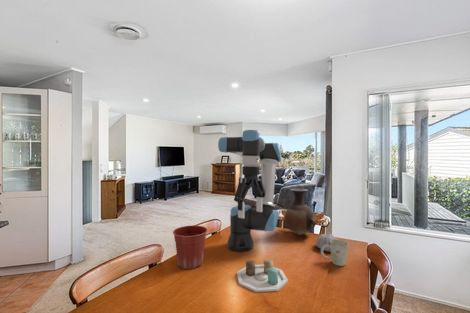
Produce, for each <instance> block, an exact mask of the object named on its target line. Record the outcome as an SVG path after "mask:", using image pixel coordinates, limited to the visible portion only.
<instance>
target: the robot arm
mask: <svg viewBox="0 0 470 313" xmlns="http://www.w3.org/2000/svg"><path fill="white" fill-rule="evenodd" d="M241 134H242V135H241V136H230V137H229V136H224V137H220V138H219V139H218V143H217V148H218V151H219V152H220V153H225V154H226V153H231V154H234V155H237V156H240V157H241V161H242V162H241V165H242V167H241V168H242V170H241V173H242V175H244V177H239V178H238V185H237V188H236V191H235V195H234V197H233V198H234V199H233V201H234V202H236V203H237V205H235V206H232V208H230V216H229V217H230V218H229V220H230V221H229V222H230V223H229V224H230V228H229V230H230V232H229V233H230V234H229V237H228V240H227V245H226V246H227V249H229V250H231V251H233V252H249V251H251V250H252V249H254V245H255V244H254V240H253V236H252V231H263V232H273V231H275V230H276V228H277V225H278V219H279V210H277V209H276V206H275V205H274V200H275V198H274V196H275V183H276V182H275V181H276V168H277V166H278V165H279V162H282V152H281V146H280V144H279V143H278V142H265V141H264V139H263V138H262V137H261V135H260V130H258V129H245V130H243V131H242V133H241ZM260 165H261V167H260ZM260 168H261V172H260ZM251 188H252V189H253V190H254V192H255V194H256V203H255V205H254V208H252V206H251V205H249V204H245V202H244V200H245V198H246V196H247V195H248V192H249V190H250V189H251Z"/></svg>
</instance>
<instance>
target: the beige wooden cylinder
mask: <svg viewBox="0 0 470 313" xmlns="http://www.w3.org/2000/svg"><path fill="white" fill-rule="evenodd" d="M263 264H264V273H265V274H267V275H268V269H269V268H273V267H274V260H272V259H267V258H266V259H264V260H263Z"/></svg>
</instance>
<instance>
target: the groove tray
mask: <svg viewBox="0 0 470 313" xmlns="http://www.w3.org/2000/svg"><path fill="white" fill-rule="evenodd" d="M273 268H276V269H277V270H278V284H277V285H270V284H269V283H268V275H267V274H265V273H264V263H263V264H255V275H254V276H248V275H246V266H244V267H243V268H241V269H240V270H238V271H236V277H237V282H238V285H239V286H242V287H244V288H246V289H248V290H251V291H252V292H255V293H266V292H267V293H268V292H278V291H280V290H281V289H282V288H283V287H284V285H286V284H287V283H288V282H289V279H288V278H287V276H286V274H285V273H284V271H283V269H280V268H278V267H275V266H273Z"/></svg>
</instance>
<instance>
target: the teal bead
mask: <svg viewBox="0 0 470 313" xmlns="http://www.w3.org/2000/svg"><path fill="white" fill-rule="evenodd" d="M276 268H277V267H275V268H269V269H268V283H269V284H270V285H277V284H278V270H277V269H276Z"/></svg>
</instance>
